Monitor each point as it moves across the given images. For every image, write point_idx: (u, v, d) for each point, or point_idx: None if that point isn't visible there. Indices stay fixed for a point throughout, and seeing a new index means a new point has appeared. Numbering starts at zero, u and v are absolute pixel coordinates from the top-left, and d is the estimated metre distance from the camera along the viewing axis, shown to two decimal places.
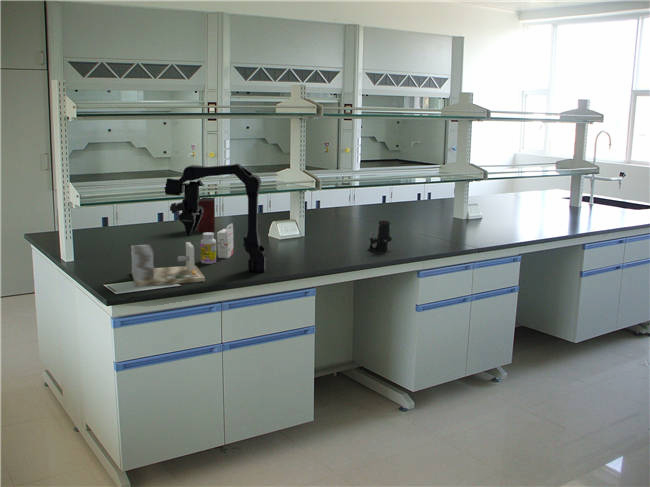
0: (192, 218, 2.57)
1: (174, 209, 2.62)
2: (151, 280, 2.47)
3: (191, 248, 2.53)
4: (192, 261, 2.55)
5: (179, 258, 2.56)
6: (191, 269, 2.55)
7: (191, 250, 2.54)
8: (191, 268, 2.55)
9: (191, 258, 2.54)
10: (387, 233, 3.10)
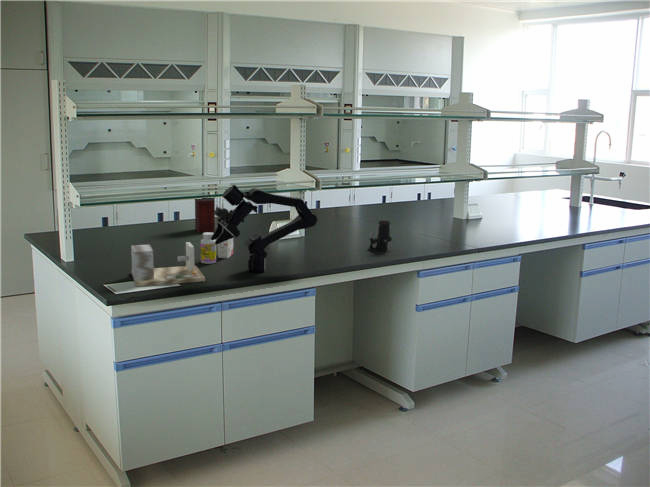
0: (237, 235, 2.55)
1: (223, 214, 2.56)
2: (151, 280, 2.47)
3: (191, 248, 2.53)
4: (192, 261, 2.55)
5: (179, 258, 2.56)
6: (191, 269, 2.55)
7: (191, 250, 2.54)
8: (191, 268, 2.55)
9: (191, 258, 2.54)
10: (387, 233, 3.10)
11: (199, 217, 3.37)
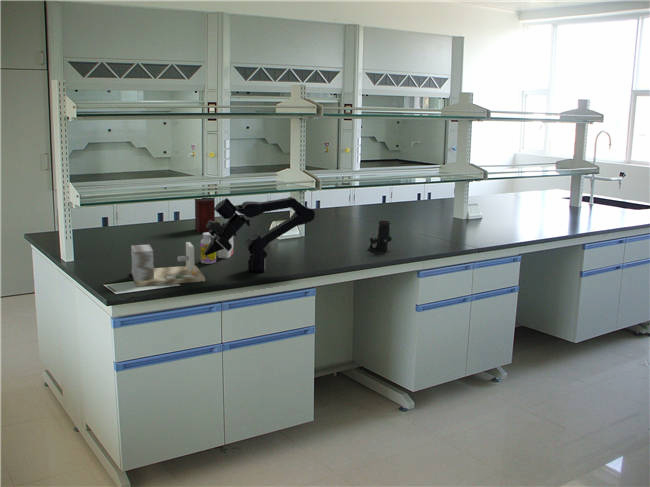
0: (229, 249, 2.54)
1: (215, 228, 2.56)
2: (151, 280, 2.47)
3: (191, 248, 2.53)
4: (192, 261, 2.55)
5: (179, 258, 2.56)
6: (191, 269, 2.55)
7: (191, 250, 2.54)
8: (191, 268, 2.55)
9: (191, 258, 2.54)
10: (387, 233, 3.10)
11: (199, 217, 3.37)
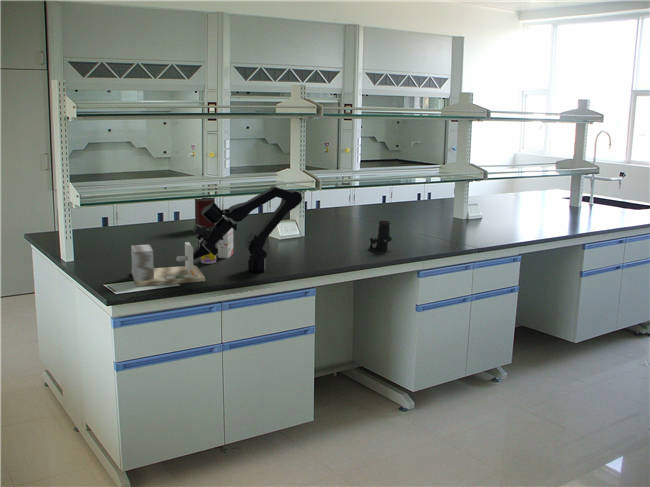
0: (215, 253, 2.53)
1: (202, 232, 2.54)
2: (151, 280, 2.47)
3: (190, 248, 2.53)
4: (191, 261, 2.55)
5: (178, 258, 2.56)
6: (190, 269, 2.55)
7: (190, 250, 2.53)
8: (190, 268, 2.55)
9: (190, 258, 2.54)
10: (387, 233, 3.10)
11: (199, 217, 3.37)
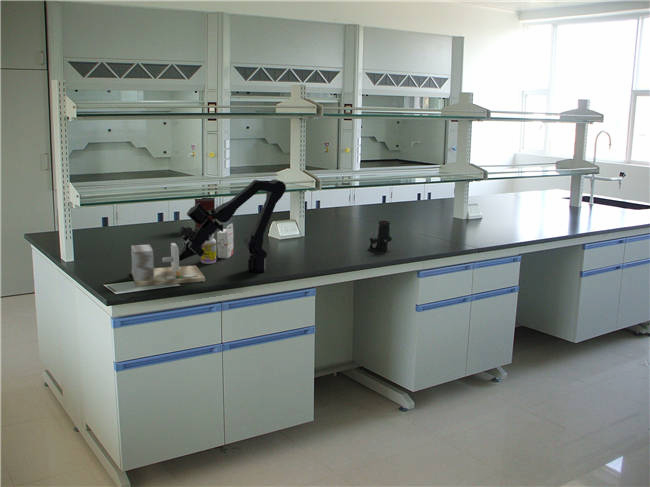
0: (201, 254, 2.51)
1: (187, 233, 2.52)
2: (151, 280, 2.47)
3: (176, 249, 2.51)
4: (177, 262, 2.53)
5: (164, 259, 2.54)
6: (176, 270, 2.53)
7: (176, 251, 2.51)
8: (176, 269, 2.53)
9: (176, 259, 2.52)
10: (387, 233, 3.10)
11: None
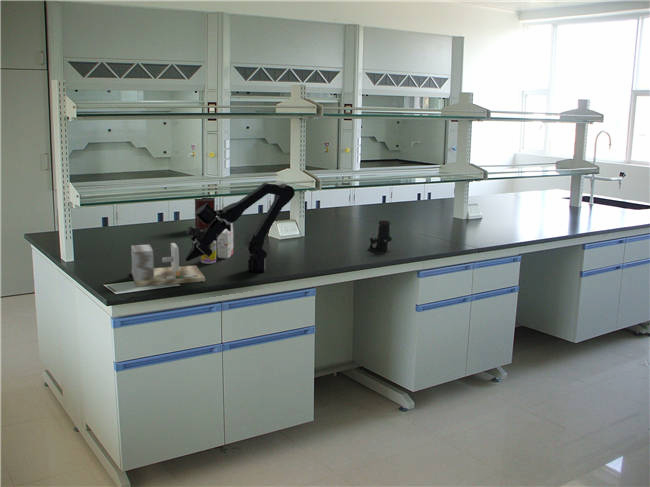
0: (210, 254, 2.52)
1: (195, 233, 2.53)
2: (151, 280, 2.47)
3: (176, 249, 2.51)
4: (177, 262, 2.53)
5: (164, 259, 2.54)
6: (176, 270, 2.53)
7: (176, 251, 2.51)
8: (176, 269, 2.53)
9: (176, 259, 2.52)
10: (387, 233, 3.10)
11: None
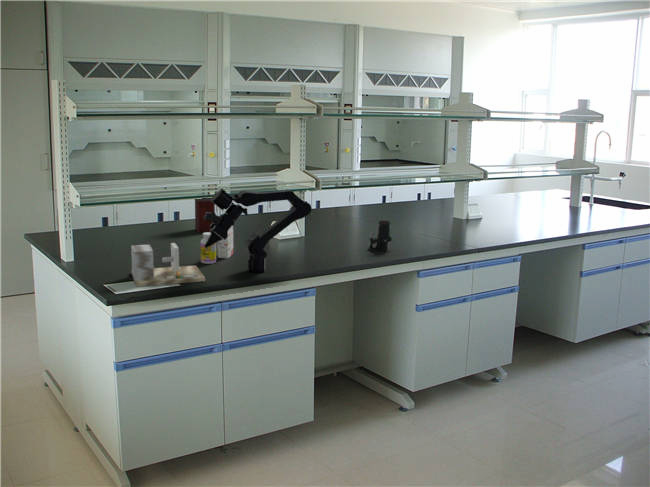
0: (225, 237, 2.53)
1: (211, 218, 2.55)
2: (151, 280, 2.47)
3: (176, 249, 2.51)
4: (177, 262, 2.53)
5: (164, 259, 2.54)
6: (176, 270, 2.53)
7: (176, 251, 2.51)
8: (176, 269, 2.53)
9: (176, 259, 2.52)
10: (387, 233, 3.10)
11: (199, 217, 3.37)
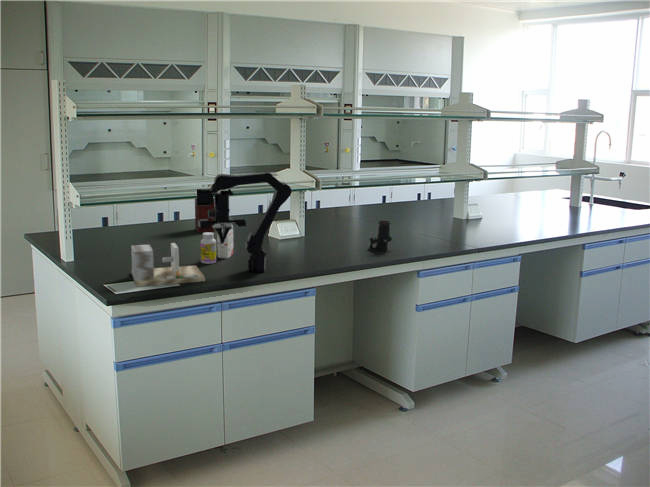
0: (201, 225, 2.57)
1: (208, 215, 2.66)
2: (151, 280, 2.47)
3: (176, 249, 2.51)
4: (177, 262, 2.53)
5: (164, 259, 2.54)
6: (176, 270, 2.53)
7: (176, 251, 2.51)
8: (176, 269, 2.53)
9: (176, 259, 2.52)
10: (387, 233, 3.10)
11: (199, 217, 3.37)
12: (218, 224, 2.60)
